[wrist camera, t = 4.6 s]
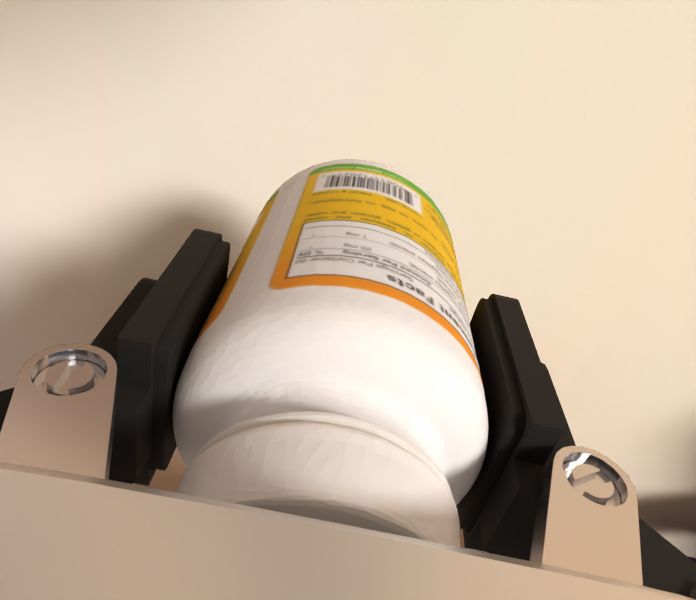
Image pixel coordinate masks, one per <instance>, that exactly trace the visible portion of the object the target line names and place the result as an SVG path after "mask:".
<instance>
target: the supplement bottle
mask: <svg viewBox="0 0 696 600" xmlns="http://www.w3.org/2000/svg"><path fill="white" fill-rule="evenodd" d="M173 429H174V435H175V440H176V444H177V447H178V450H179V453H180V456H181V458H182V460H183V462H184V464H185V466H186V468H187V469H186V471H185V473H184V475H183V477H182V479H181V481H180V483H179V485H178V487H177V491H176V492H177V493H182V494H188V495H193V496H198V497H203V498H209V499H214V500H219V501H225V502H230V503H235V504H241V505H246V506H251V507H257V508H262V509H267V510H272V511H277V512H282V513H288V514H293V515H298V516H303V517H308V518H314V519H319V520H324V521H329V522H334V523H339V524H345V525H350V526H355V527H360V528H365V529H370V530H375V531H380V532H386V533H391V534H396V535H401V536H406V537H411V538H416V539H421V540H426V541H431V542H436V543H441V544H446V545H451V546H456V547H460V521H459V516H458V510H457V507H456V505H457V504H458V503H459V502H460V501H461V500H462V499H463V498H464V496H465V495H466V494H467V493H468V491H469V490H470V488H471V487H472V485H473V484H474V482H475V480H476V479H477V476H478V474H479V472H480V470H481V468H482V465H483V462H484V458H485V455H486V451H487V445H488V430H489V424H488V413H487V406H486V401H485V394H484V387H483V383H482V379H481V375H480V370H479V364H478V361H477V357H476V353H475V348H474V343H473V338H472V334H471V329H470V324H469V319H468V314H467V310H466V305H465V300H464V295H463V290H462V285H461V280H460V275H459V270H458V266H457V261H456V256H455V251H454V247H453V242H452V238H451V234H450V231H449V228H448V224H447V222H446V219H445V217H444V214H443V213H442V211H441V209H440V207H439V206H438V204H437V203H436V201H435V200H434V199H433V197H432V196H431V195H430V194H429V193H428V192H427V191H426V190H425V189H424V188H423V187H422V186H421V185H420V184H418V183H417V182H416V181H414V180H413V179H412V178H410V177H409V176H407V175H405V174H404V173H402V172H400V171H398V170H396V169H394V168H392V167H389V166H386V165H383V164H380V163H376V162H372V161H366V160H355V159H343V160H334V161H329V162H324V163H321V164H317V165H314V166H312V167H309V168H307V169H305V170H303V171H301V172H299V173H297V174H296V175H294V176H293V177H291V178H290V179H289V180H287V181H286V182H285V183H284V184H282V185H281V186H280V187H279V188H278V189H277V190H276V191H275V193H274V194H273V195H272V196H271V198H270V199H269V200H268V202H267V203H266V205H265V206H264V208H263V210H262V211H261V213H260V215H259V217H258V219H257V221H256V223H255V225H254V226H253V229H252V231H251V233H250V235H249V237H248V239H247V241H246V243H245V245H244V247H243V249H242V251H241V253H240V255H239V257H238V259H237V261H236V263H235V265H234V267H233V269H232V271H231V273H230V275H229V277H228V279H227V281H226V283H225V285H224V287H223V289H222V290H221V292H220V294H219V296H218V298H217V300H216V302H215V304H214V306H213V308H212V310H211V312H210V314H209V316H208V318H207V320H206V322H205V323H204V325H203V327H202V329H201V331H200V333H199V335H198V337H197V339H196V341H195V343H194V345H193V347H192V349H191V351H190V354H189V356H188V358H187V361H186V363H185V366H184V368H183V370H182V373H181V375H180V378H179V381H178V384H177V387H176V391H175V396H174V402H173Z"/></svg>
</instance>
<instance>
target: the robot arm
mask: <svg viewBox="0 0 696 600" xmlns="http://www.w3.org/2000/svg"><path fill="white" fill-rule="evenodd" d="M229 252H230V243H229V242H224V241H222V235H221V234H218V233H214V232H209V231H205V230H200V229H194V230H193V232H192V233H191V235H190V236H189V237H188V239H187V240H186V242H185V243H184V244H183V246H182V247H181V249H180V250H179V251H178V253H177V254H176V256H175V257H174V258H173V260H172V261H171V263H170V264H169V265H168V267H167V268H166V270H165V271H164V272H163V274H162V275H161V277H160V278H159V279H158V280H153V279H149V278H142V279H141V280H140V281H139V282H138V284H137V285H136V286H135V287H134V289H133V290H132V291H131V293H130V294H129V295H128V297H127V298H126V299H125V300H124V302H123V303H122V304H121V306H120V307H119V308H118V310H117V311H116V312H115V313H114V315H113V316H112V317H111V319H110V320H109V321H108V323H107V324H106V325H105V326H104V328H103V329H102V330H101V332H100V333H99V334H98V336H97V337H96V338H95V339H94V341H93V342H92V343H91V345H87V344H76V343H75V344H64V345H58V346H55V347H51V348H47V349H45V350H43V351H41V352H39V353H37V354H35V355H34V356H33V357H31V358H30V359H29V360H28V361H27V362H25V364H24V366H23V367H22V369H21V371H20V373H19V376H18V379H17V382H16V385H15V387H14V388H11V389H8V390H4V391H1V392H0V600H696V563H695V562H693V561H692V560H691V559H690V558H688V557H687V556H686V555H685V554H683V553H682V552H681V551H680V550H678V549H677V548H676V547H675V546H673V545H672V544H671V543H670V542H668V541H667V540H666V539H665V538H663V537H662V536H661V535H660V534H658V533H657V532H656V531H655V530H653V529H652V528H651V527H650V526H648V525H647V524H646V523H645V522H643V521H642V520H641V519H640V518H638V503H637V495H636V491H635V487H634V485H633V483H632V482H631V480H630V478H629V477H628V475H627V474H626V473H625V472H624V471H623V470H622V469H621V468H620V467H619V466H618V465H617V464H616V463H614V462H613V461H612V460H610V459H609V458H608V457H606V456H604V455H602V454H600V453H599V452H597V451H595V450H592V449H589V448H585V447H581V446H576V445H575V443H574V440H573V437H572V434H571V432H570V429H569V426H568V424H567V421H566V418H565V415H564V413H563V410H562V407H561V404H560V402H559V399H558V396H557V394H556V391H555V388H554V385H553V383H552V380H551V377H550V374H549V372H548V369H547V367H546V366H545V364H543V363H541V362H540V359H539V356H538V354H537V351H536V348H535V345H534V342H533V339H532V337H531V334H530V331H529V328H528V325H527V323H526V320H525V317H524V314H523V311H522V309H521V306H520V303H519V301H518V299H514V298H509V297H505V296H500V295H496V294H492V295H490V297H489V298H488V299H484V298H482V299H480V301H479V303H478V305H477V307H476V310H475V312H474V315H473V317H472V320H471V322H470V329H471V334H472V338H473V343H474V348H475V353H476V357H477V361H478V364H479V370H480V375H481V379H482V383H483V387H484V394H485V401H486V406H487V413H488V424H489V430H488V445H487V451H486V455H485V458H484V462H483V465H482V468H481V470H480V472H479V474H478V476H477V479H476V480H475V482H474V484H473V485H472V487H471V488H470V490H469V491H468V493H467V494H466V495H465V496H464V498H463V499H462V500H461V501H460V502H459V503H458V504H457V505H456V507H457V510H458V516H459V521H460V529H463V537H464V545H465V548H461V547H456V546H451V545H446V544H441V543H436V542H431V541H426V540H421V539H416V538H411V537H406V536H401V535H396V534H391V533H386V532H380V531H375V530H370V529H365V528H360V527H355V526H350V525H345V524H339V523H334V522H329V521H324V520H319V519H314V518H308V517H303V516H298V515H293V514H288V513H282V512H277V511H272V510H267V509H262V508H257V507H251V506H246V505H241V504H235V503H230V502H225V501H219V500H214V499H209V498H203V497H198V496H193V495H188V494H182V493H177V492H172V491H166V490H161V489H156V488H150V487H145V486H140V485H134V484H133V483H135V484H141V485H146V486H149V484H150V482H151V480H152V478H153V476H154V474H155V471H156V469H158V470H163V471H165V470H166V469H167V467H168V465H169V463H170V460H171V458H172V456H173V454H174V451H175V449H176V447H177V444H176V440H175V435H174V429H173V402H174V396H175V391H176V387H177V384H178V381H179V378H180V375H181V373H182V370H183V368H184V366H185V363H186V361H187V358H188V356H189V354H190V351H191V349H192V347H193V345H194V343H195V341H196V339H197V337H198V335H199V333H200V331H201V329H202V327H203V325H204V323H205V322H206V320H207V318H208V316H209V314H210V312H211V310H212V308H213V306H214V304H215V302H216V300H217V298H218V296H219V294H220V292H221V290H222V289H223V287H224V285H225V283H226V281H227V271H228V262H229ZM466 548H470V549H466ZM471 549H475V550H471ZM476 550H481V551H486V552H487V553H486V552H481V551H476Z"/></svg>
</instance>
